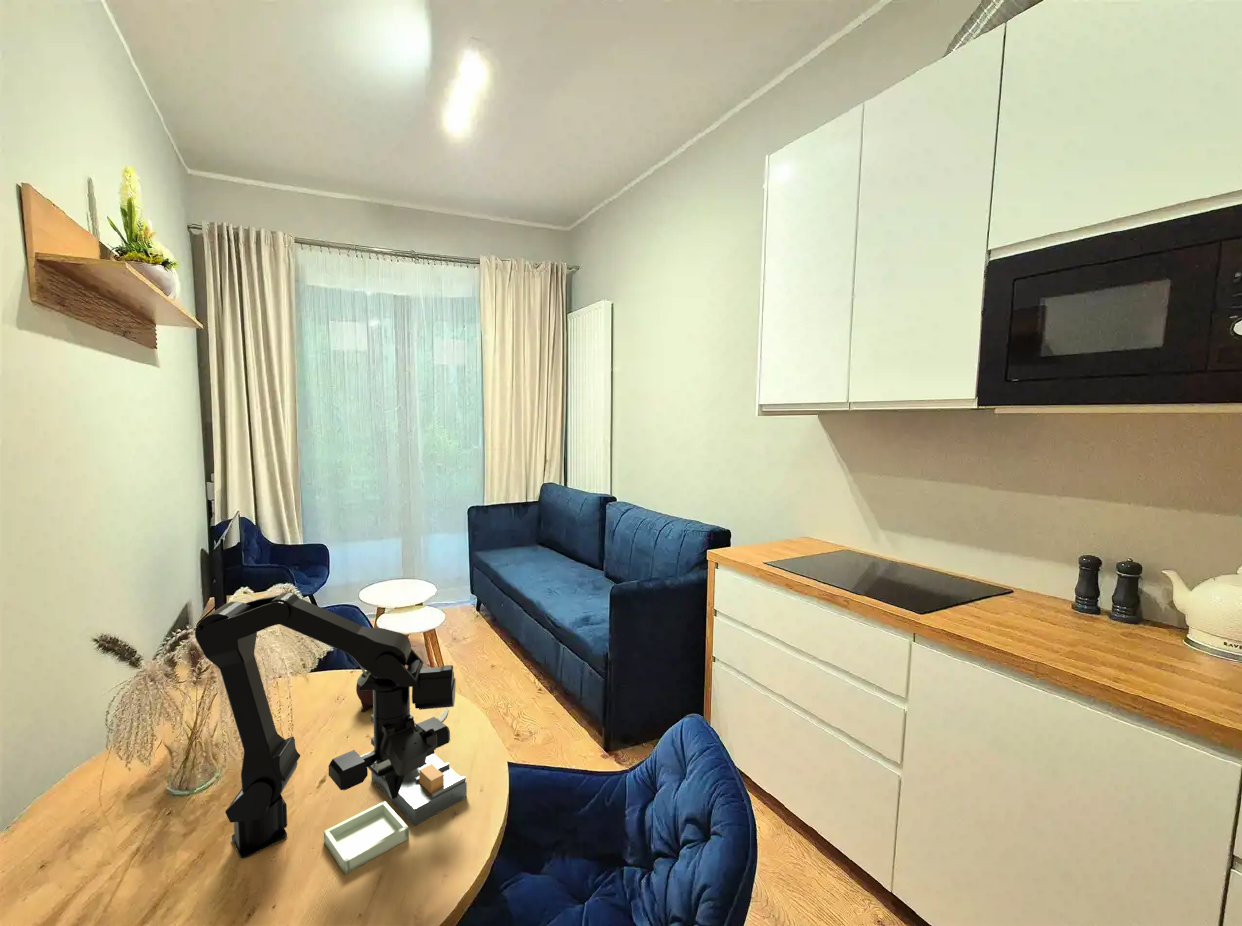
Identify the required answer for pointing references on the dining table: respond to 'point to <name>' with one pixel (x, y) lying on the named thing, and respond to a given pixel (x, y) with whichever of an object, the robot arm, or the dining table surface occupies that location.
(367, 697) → the mate gourd
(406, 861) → the dining table surface
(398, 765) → the robot arm
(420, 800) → the metallic box with opening
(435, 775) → the block
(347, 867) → the tray
